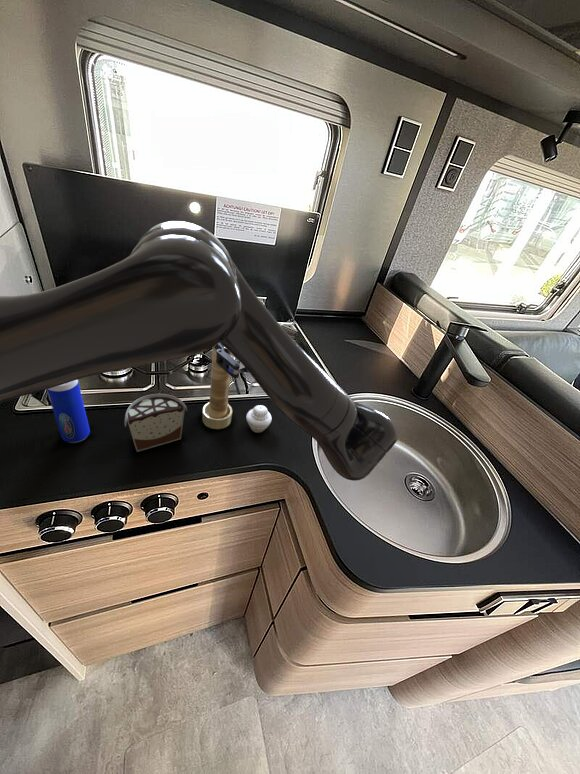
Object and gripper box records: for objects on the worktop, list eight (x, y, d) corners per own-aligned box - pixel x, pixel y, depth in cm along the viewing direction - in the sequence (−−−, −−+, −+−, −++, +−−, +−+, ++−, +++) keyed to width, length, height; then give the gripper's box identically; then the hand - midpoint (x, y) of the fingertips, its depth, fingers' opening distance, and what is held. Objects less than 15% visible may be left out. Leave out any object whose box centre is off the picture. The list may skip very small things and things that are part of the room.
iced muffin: (178, 420, 80) (177, 387, 74) (187, 437, 76) (187, 403, 70) (122, 434, 73) (116, 399, 67) (129, 454, 69) (123, 419, 63)
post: (214, 426, 80) (221, 329, 64) (205, 415, 82) (210, 319, 67) (229, 420, 82) (239, 325, 67) (220, 410, 84) (228, 316, 69)
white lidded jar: (274, 432, 82) (279, 411, 78) (253, 440, 79) (256, 418, 75) (261, 416, 86) (264, 396, 82) (240, 423, 82) (243, 402, 78)
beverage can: (55, 438, 69) (36, 380, 60) (77, 423, 73) (62, 367, 64) (75, 448, 68) (58, 390, 59) (96, 432, 72) (83, 376, 63)
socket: (211, 433, 78) (211, 423, 77) (197, 415, 82) (197, 406, 80) (236, 423, 82) (237, 414, 81) (221, 406, 86) (222, 397, 85)
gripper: (322, 353, 58) (267, 313, 67) (256, 373, 50) (202, 325, 58) (312, 387, 63) (262, 345, 71) (250, 411, 54) (201, 360, 63)
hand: (235, 336), depth 65 cm, fingers open, 8 cm apart
